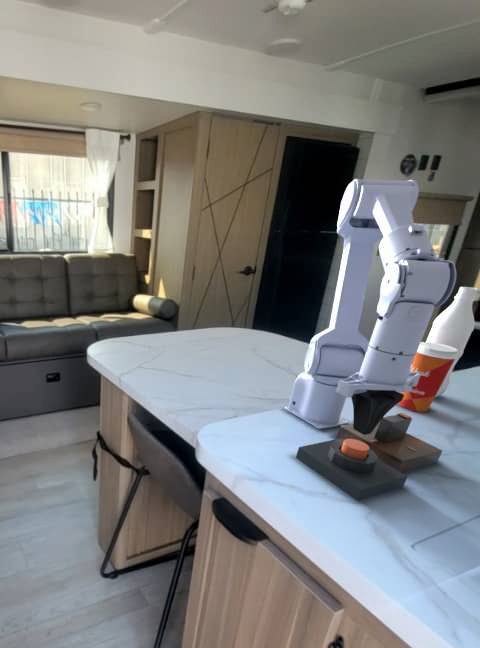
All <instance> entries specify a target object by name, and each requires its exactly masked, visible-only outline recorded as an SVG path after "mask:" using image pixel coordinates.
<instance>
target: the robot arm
mask: <svg viewBox="0 0 480 648" xmlns="http://www.w3.org/2000/svg"><path fill="white" fill-rule="evenodd" d="M419 188H420V187H419V185H418V182H417V181H416V180H415V179H409V180H389V179H387V180H386V179H384V180H382V179H381V180H380V179H360V178H355V179H353V180H352V181H351V182H350V183H349V184H348V185H347V187H346V188H345V191H344V194H343V196H342V199H341V201H340V208H339V213H338V219H337V224H336V226H337V229H336V233H337V235H339V236H341V237H342V238H343V251H342V256H341V261H340V267H339V268H340V269H339V272H338V278H337V283H336V287H335V294H334V300H333V305H332V310H331V316H330V319H329V327H328V328H325V330H322V331H320V332H319V333H317V334H315V335H314V336H313V337H312V338H311V339H310V342H309V346H308V349H307V351H306V355H305V358H304V371H303V372H301V373H300V374H299V375H298V376H297V378H296V379H295V381H294V384H293V387H292V391H291V393H290V399H289V403H288V406H285V407H284V410H286V411H287V412H289V413H291V414H292V415H294V416H296V417H297V418H299V419H300V420H301V421H304V422H306V423H308V424H309V425H310V426H313V427H314V428H316V429H318V430H325V429H330V428H334V427H340V426H344V425H349V424H350V422H349V421H348V420H347V419H344V418H343V417H342V416H341V415H342V412H343V409H344V406H345V403H346V400H347V398H351V402H352V407H353V418H352V419H353V423H352V424H353V429H354V430H356V431H358V432H360V433H361V434H363V435H366V434H370V433H371V432H372V431H373V430H374V429H375V427H376V426H377V425H378V423H379V422H380V421H381V419H382V418H383V417H386V415H387V414H388V413H389V411H391V410H392V409H393V408H394V407H395V406H396V405H399V404H398V403H399V402H401V401H402V400H403V397H404V395H403V394H402V393H403V392H409V391H411V388H412V387H413V386H417V383H418V381H419V378H420V376H421V374H418V373H415V372H412V371H410V368H411V365H412V363H413V360H414V358H415V355H416V353H417V350H418V348H419V345H420V343H421V342H422V340H423V337H424V335H425V332H426V330H427V328H428V325H429V323H430V320H431V317H432V315H433V312H434V310H435V308H438V307H440V306H441V305H443V304H444V303H445V302H447V300H448V299H449V298H450V296H451V294H452V293H453V290H454V289H455V285H456V282H457V268H456V264H455V262H454V261H453V260H448V259H447V260H446V259H444V258H443V257H438V256H437V254H436V251H435V250H434V247H433V244H432V242H431V239H430V237H429V234H428V231H427V230H426V229H425V227H424V226H423V225H418V224H415V223H414V217H413V210H414V208H415V206H416V204H417V202H418V201H417V200H418V197H419V192H420V189H419ZM380 240H381V241H380ZM378 241H380V243H379V244H378V245H379V246H378V252H379V257H380V260H381V264H382V267H383V271H384V275H383V277H382V280H381V283H380V288H379V300H378V303H377V306H376V313H377V314H378V316H377V319H376V322H375V325H374V328H373V331H372V334H371V337H370V340H368V339H367V338H366V337H365V336H364V335H363V334H362V333H361V332H360V331H359V327H360V322H361V317H362V312H363V306H364V302H365V297H366V291H367V286H368V281H369V277H370V271H371V267H372V260H373V256H374V250H375V245H376V243H377V242H378ZM326 344H333V345H326ZM336 345H343V346H336ZM347 346H349V347H347ZM411 386H412V387H411ZM401 392H402V393H401Z"/></svg>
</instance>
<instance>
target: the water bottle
mask: <svg viewBox="0 0 480 648" xmlns="http://www.w3.org/2000/svg"><path fill="white" fill-rule="evenodd" d="M478 291H479V288H477V287H471V286H459V288H458V292H457V293H456V295H455V296H454V297H453V298H454V300H453V301H452V303H451V304H450V305H449V306H448V307H447V308H446V309H445V310H443V311H442V312H441V313H440V314H439V315H438V316H437V317H436V318H435V319H434V321H433V322H432V327H431V329H430V331H429V334H428V336H427V338H426V340H425V342H432V343H439V344H444V345H448V346H451V347H454V348H456V349H457V350H458V352H457V355H458V358H456V359H455V360H454V362H453V364H452V366H451V368H450V369H449V371H448V373H447V375H446V377H445V379H444V381H443V383H442V385H441V386H440V388H439V390H438V392H437V394H436V396H435V398H437V397H440V396H442V395H443V394H445V392H446V391H447V389H448V387H449V385H450V382H451V376H452V374H453V373H452V372H453V371H454V368H455V366H456V364H457V363H458V361H459V360H460V358H461V357H462V356H463V354H464V350H465V348H466V345H467V344H468V342H469V339H470V337H471V334H472V332H474V329H475V326H476V324H475V317H474V312H473V303H474V302H475V301H476V297H477V296H476V295H477V293H478Z"/></svg>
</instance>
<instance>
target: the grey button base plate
mask: <svg viewBox="0 0 480 648" xmlns="http://www.w3.org/2000/svg"><path fill="white" fill-rule="evenodd" d="M343 442H344V439H342V438H339V439H338V438H334V439H331V440H330V439H329V440H326V441H320V442H317V443H312V444H307V445H303V446H299V447H298V449H297V452H296V456H295V458H296V460H298V461H300V462H302V463H303V464H304V465H306V466H307V467H309V468H310V469H311V470H313V471H314V472H315V473H317V474H318V475H320V476H321V477H322V478H324V479H326V480H327V481H328V482H330V483H331V484H333V485H334V486H335V487H336V488H338V489H340V490H341V491H342V492H344V493H345V494H347V495H348V496H350V497H351V498H353V499H354V500H355V501H357V502H358V501H361V500H365V499H368V498H371V497H374V496H378V495H381V494H385V493H388V492H392V491H395V490H400V489H402V488H404V486H405V484H406V481H407V479H408V475H407V474H405V473H403V472H399V471H398V470H396V469H394V468H392V467H391V466H389V465H387V464H385V463H384V462H382V461H380V460H379V459H378V456H377V455H376V454H375V453H374V452H373V451H372V450H370V449H369V451H368V454H367V457H366V458H365V459H356V458H353V457H350V456H347V455H345V454H344V453H342V452H341V448H342V445H343Z"/></svg>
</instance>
